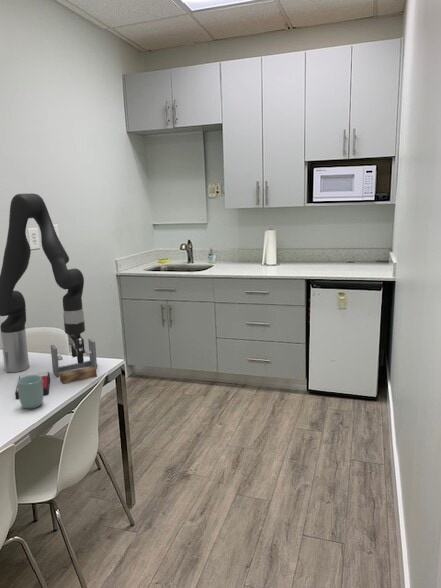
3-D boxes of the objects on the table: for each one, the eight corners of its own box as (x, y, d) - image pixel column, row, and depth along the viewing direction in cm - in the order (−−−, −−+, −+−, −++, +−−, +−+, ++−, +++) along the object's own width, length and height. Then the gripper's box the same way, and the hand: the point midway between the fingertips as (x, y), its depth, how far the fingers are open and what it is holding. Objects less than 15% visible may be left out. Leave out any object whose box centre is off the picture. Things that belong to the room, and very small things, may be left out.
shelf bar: (62, 384, 170) (62, 376, 169) (60, 381, 174) (59, 373, 173) (96, 377, 177) (96, 369, 176) (93, 374, 181) (93, 366, 180)
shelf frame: (56, 377, 176) (53, 349, 174) (53, 372, 181) (50, 345, 179) (97, 368, 185) (95, 341, 183) (92, 364, 190) (90, 338, 187)
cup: (48, 401, 156) (46, 375, 154) (37, 411, 148) (34, 384, 146) (27, 400, 157) (24, 374, 154) (15, 410, 149) (12, 383, 147)
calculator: (14, 391, 157) (19, 373, 170) (16, 401, 158) (20, 383, 171) (47, 387, 160) (49, 369, 174) (48, 397, 161) (50, 379, 175)
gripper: (59, 318, 174) (63, 356, 177) (68, 326, 162) (72, 367, 166) (78, 315, 178) (82, 353, 181) (89, 322, 166) (92, 363, 169)
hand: (77, 359), depth 173 cm, fingers open, 8 cm apart
